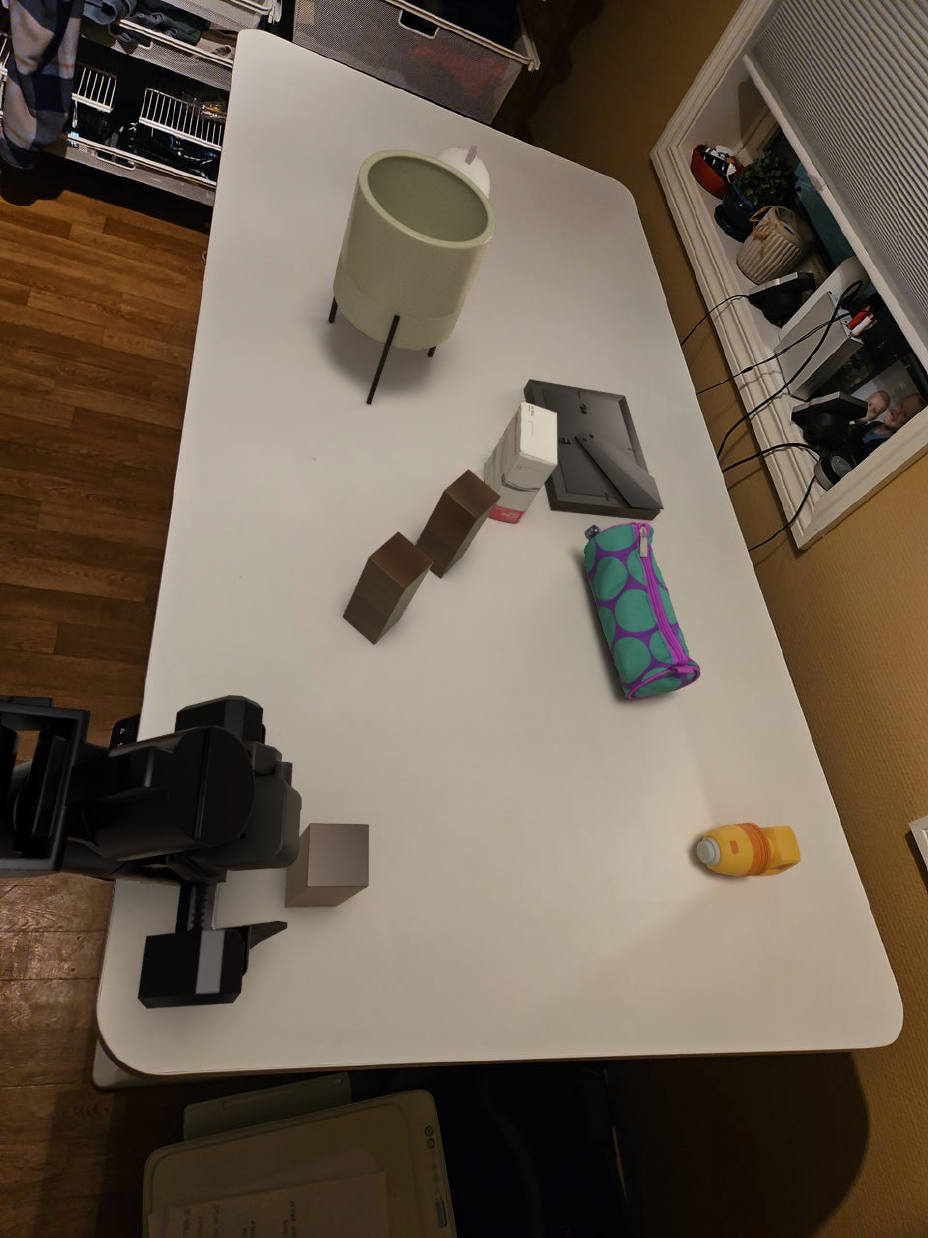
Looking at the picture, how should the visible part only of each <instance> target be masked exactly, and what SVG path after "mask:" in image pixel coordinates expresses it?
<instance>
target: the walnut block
mask: <svg viewBox="0 0 928 1238" xmlns="http://www.w3.org/2000/svg"><path fill="white" fill-rule="evenodd" d="M415 545H416V544H414V543H413V542H412V541H411V540H409V539H408V538H407V537H406V536H405V535H403V533H401V532H400V531H399V530H398V531H396V532H395V533H394V534H393V535H392V536H391V537H390V538H389V539H387V540H386V541H385V542H384V543H383V544H382V545H381V546H380V547H379V548H377V549H376V550H375V551H373V553H372V554H371V555H369V556H368V557H367V560H366V562H365V564H364V567H363V569H362V571H361V573H360V576H359V578H358V580H357V582H356V585H355V587H354V590H353V592H352V594H351V596H350V599H349V601H348V603H347V605H346V608H345V610H344V612H343V615H342V618H343V620H345V621H347V623H349V624H350V625H351V626H352V627H353V628H355V630H357V631H358V632H359V633H360V634H361V635H362V636H364V637H365V638H366V639H367V641H369V642H370V643H372V644H373V645H376V644H377V643H378V642H379V641H380V640H381V639H382V638H383V637H384V636H385V635H386V634H388V632H389V631H390V630H391V629H392V628H393V627H394V626H395V625H396V624H397V623H398V622H399V621H400V620H401V618H402V617H403V615H404V613H405V612H406V610H407V608H408V607H409V605H410V603H411V601H412V600H413V597H414V596H415V595H416V593H417V591H418V589H419V588H420V586H421V585H422V583H423V581H424V579H425V578H426V576H427V575H428V573H429V571H430V567H431V566H432V564H433V562H434V561H433V560H431V559H430V558H429V557H428V556H427V555H426V554H424V553H423V552H422V551H421V550H420V549H419V548H417V547H416V546H415Z"/></svg>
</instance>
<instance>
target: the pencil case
mask: <svg viewBox="0 0 928 1238" xmlns="http://www.w3.org/2000/svg"><path fill="white" fill-rule="evenodd" d="M583 534H584V536H585V538H586V540H587V543H586V544H585V546H584V548H583V555H584V567H585V571H586V575H587V579H588V582H589V583H588V584H589V586H590V589H591V592H592V596H593V599H594V603H595V605H596V608H597V612H598V615H599V620H600V623H601V627H602V631H603V634H604V636H605V639H606V642H607V645H608V648H609V651H610V654H611V656H612V658H613V662H614V666H615V668H616V670H617V671H618V674H619V682H620V684H621V688H622V689H623V693H624V696H625V698H627V699H629V700H635V699H636V700H637V699H639V700H640V699H646V698H649V697H653V696H656V695H662V694H666V693H667V694H668V693H673V692H676V691H679V690H680V689H682V688H686V687H687V686H690V685H691V684H693V683H695V682H696V681H697V680H698V679H699V678H700V677H701V667H700V665H699V664H698V663H697V662H696V661H695V660H694V659H692V658H691V656H690V651H689V648H688V645H687V643H686V639H685V635H684V632H683V631H682V628H681V627H680V624H679V622H678V621H679V620H678V619H677V616H676V613H675V609H674V606H673V603H672V600H671V597H670V592H669V589H668V587H667V584H666V582H665V578H664V577H663V574H662V571H661V568H660V567H659V565H658V562H657V560H656V558H655V556H654V551H653V548H652V543H653V536H654V534H655V529H654V527H653V526H652V525H651V524H649V523H648V522H637V521H632V522H627V523H618V524H615V525H612V526H609V527H607V528H605V529H603V530H601V528H600V526H597V524H592V525H591V526H590V527H588V528H587V529H586V530H584V532H583Z"/></svg>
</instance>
